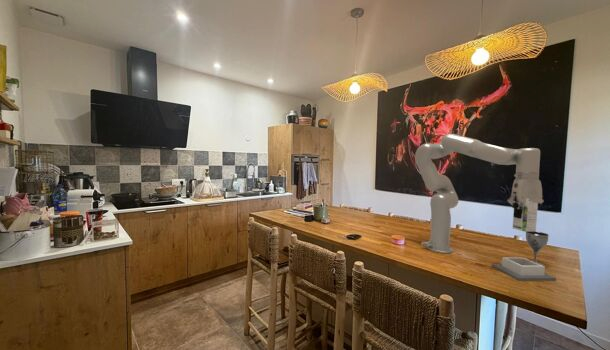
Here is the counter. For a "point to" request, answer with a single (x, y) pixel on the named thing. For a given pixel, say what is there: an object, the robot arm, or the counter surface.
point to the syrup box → (526, 217)
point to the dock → (522, 269)
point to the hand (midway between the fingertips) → (524, 217)
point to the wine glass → (536, 242)
